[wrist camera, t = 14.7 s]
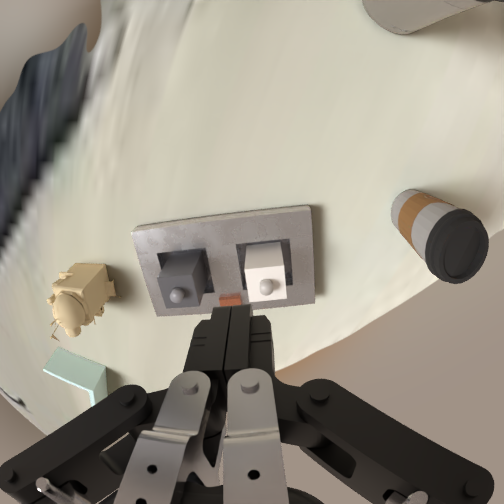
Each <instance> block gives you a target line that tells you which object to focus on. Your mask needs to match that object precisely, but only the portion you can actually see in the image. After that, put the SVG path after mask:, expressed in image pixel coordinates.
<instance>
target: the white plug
mask: <svg viewBox="0 0 504 504" xmlns="http://www.w3.org/2000/svg"><path fill="white" fill-rule="evenodd" d="M244 270H245V277H246V283H247V290H248V296H249V302H258V301H268V300H278V299H287V295H286V283H285V271H284V262H283V256H282V250H281V244H280V242H275V243H265V244H256V245H247V246H246V257H245V268H244Z"/></svg>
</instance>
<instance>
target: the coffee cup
mask: <svg viewBox="0 0 504 504" xmlns="http://www.w3.org/2000/svg"><path fill="white" fill-rule="evenodd" d="M391 219H392V222H393V224H394V226H395V227H396V228H397V229H398V230H399V231H400V233H401V234H402V236H403V237H404V238H405V239H406V240H407V241H408V243H409V244H410V245H411V246H412V247H413V249H414V250H415V251H416V252H417V254H418V255H419V256H420V257H421V258H422V259H423V260H424V261H425V262H426V264H427V267H428V269H429V270H430V271H431V273H432V274H434V275H435V276H436V277H437V278H439V279H441V280H442V281H445V282H449V283H453V284H458V283H463V282H465V281H467V280H469V279H470V278H471V277H473V276H474V275H475V274H476V273H477V272H478V271H479V269H480V268H481V266H482V265H483V263H484V261H485V258H486V256H487V252H488V247H489V246H488V243H489V239H488V234H487V231H486V230H485V228H484V226H483V224H482V222H481V221H480V220H479V219H478V218H477V217H476V216H475V215H473V214H472V213H471V212H470V211H468V210H465V209H459V208H457V207H455V206H454V205H452V204H450V203H447V202H445V201H443V200H440V199H438V198H435V197H433V196H431V195H428V194H425V193H421V192H419V191H416V190H407V191H404V192H402V193H401V194H399V195H398V196H397V197H396V198H395V200H394V202H393V204H392V207H391Z"/></svg>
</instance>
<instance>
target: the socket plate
mask: <svg viewBox="0 0 504 504" xmlns="http://www.w3.org/2000/svg"><path fill="white" fill-rule="evenodd" d="M131 234H132V238H133V241H134V245H135V249H136V252H137V255H138V259H139V262H140V266H141V269H142V272H143V275H144V279H145V282H146V285H147V288H148V291H149V294H150V297H151V300H152V303H153V306H154V309H155V312H156V315H157V316H175V315H192V314H207V313H212V311H213V307H220V306H233V305H243V304H251V305H252V310H257V309H267V308H277V307H287V306H296V305H305V304H313V303H315V282H314V255H313V235H312V218H311V209H310V207H309V206H308V205H299V206H289V207H280V208H270V209H261V210H252V211H244V212H235V213H227V214H219V215H211V216H204V217H196V218H189V219H182V220H174V221H167V222H161V223H154V224H147V225H141V226H137V227H136V228H135V229H134V230H133V231H132V232H131ZM275 242H280V244H281V250H282V256H283V262H284V271H285V283H286V295H287V299H278V300H268V301H258V302H249V296H248V290H247V283H246V277H245V270H244V268H245V257H246V246H247V245H256V244H265V243H275ZM193 251H202V255H203V259H204V264H205V269H206V273H207V278H208V280H207V284H206V287H205V290H204V294H203V297H202V301H201V304H200V306H198V307H184V308H168V309H166V307H165V303H164V300H163V297H162V294H161V291H160V287H159V284H158V281H157V277H158V275H159V273H160V271H161V270H162V268H163V266H164V265H165V263H166V261H167V260H168V258H169V256H170V255H171V254H175V253H184V252H193Z"/></svg>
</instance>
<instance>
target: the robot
mask: <svg viewBox="0 0 504 504" xmlns="http://www.w3.org/2000/svg"><path fill="white" fill-rule="evenodd" d="M59 278H60V279H59V280H57V281H56V282H55V283H53V284H52V289H53V291H54V294H53V295H52V296H51V297H50V298H49V299H47V302H48V304H49V305H52V306H53V316H54V319H55V321H56V322H57V323H58V324H59V325H60V326H61V327H63V328H65V330H66V334H67V335H68V336H69V337H76V336H78V335H79V334H80V333H81V328H80V326H81V325H84V326H87V325H89V324H90V323H91V322H92V321H93V319H94V316H101V317H102V314H103V313H104V307H103V305H105V302H108V301H109V298H110V296H112V297H116V296H115V294H116V291H115V290H114V283H113V281H114V280H113V281H110V282H109V278H108V274H107V269H106V264H82V263H75V264H74V265H73V266H72V267H71V268H70V269H69V270H68V271H67V272H60V273H59ZM120 298H121V296H120ZM53 303H54V304H53ZM55 321H53V322H52V323H51V324H50V326H52V324H53V323H54V322H55ZM94 324H95V320H94ZM55 325H56V323H55ZM59 325H58V326H59ZM95 325H96V324H95ZM58 326H57V327H58ZM56 329H57V328H56ZM55 331H56V330H55ZM55 331H54V332H55ZM53 334H54V333H53ZM53 334H52V336H51V337H50V338H51V339H52V337H53V338H54V339H56V340H58V339H57V338H56V337H55V336H54V335H53ZM58 341H59V340H58Z"/></svg>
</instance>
